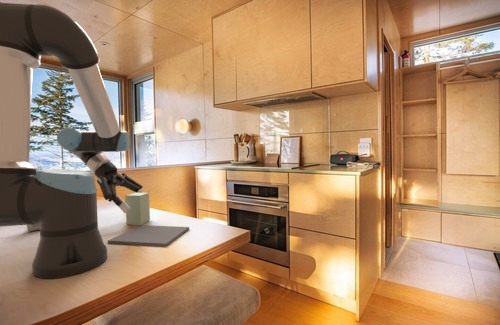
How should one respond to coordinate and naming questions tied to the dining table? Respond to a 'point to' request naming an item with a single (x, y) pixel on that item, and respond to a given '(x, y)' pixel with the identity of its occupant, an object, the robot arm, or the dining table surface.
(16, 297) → the dining table surface
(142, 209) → the sage block
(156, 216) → the dining table surface
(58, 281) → the dining table surface
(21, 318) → the dining table surface
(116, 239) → the mat
